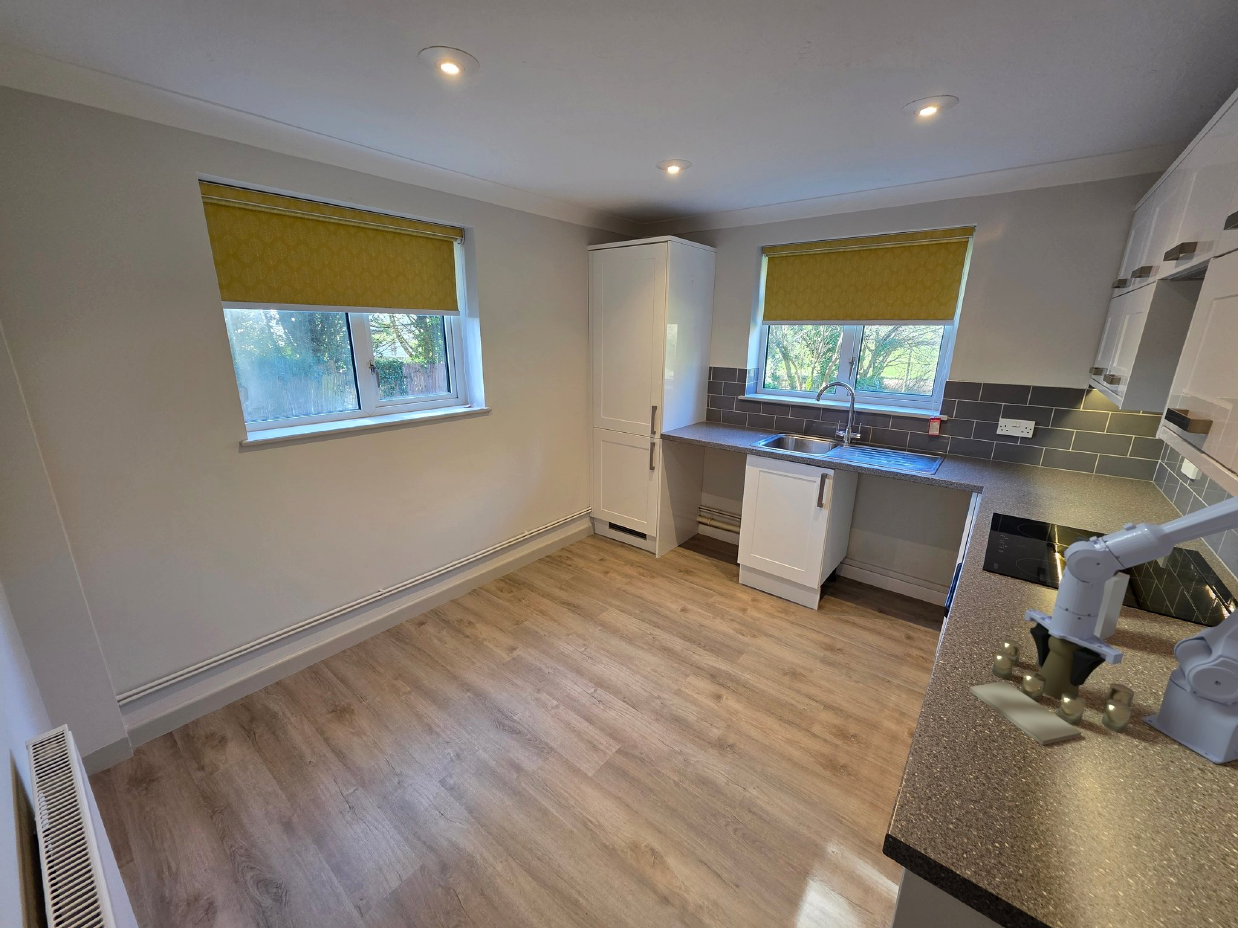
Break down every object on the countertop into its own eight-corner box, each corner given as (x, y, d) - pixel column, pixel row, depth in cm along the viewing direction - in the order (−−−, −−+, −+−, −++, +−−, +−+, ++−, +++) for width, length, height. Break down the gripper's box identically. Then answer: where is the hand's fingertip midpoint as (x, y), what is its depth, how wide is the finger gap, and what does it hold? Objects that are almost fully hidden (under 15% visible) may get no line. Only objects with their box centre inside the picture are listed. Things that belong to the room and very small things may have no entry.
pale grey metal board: (1080, 736, 80) (1081, 732, 80) (1042, 744, 78) (1043, 740, 78) (1003, 684, 92) (1004, 680, 92) (969, 690, 90) (969, 686, 90)
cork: (1086, 704, 87) (1101, 650, 84) (1047, 699, 88) (1061, 645, 86) (1064, 681, 93) (1077, 630, 90) (1027, 677, 94) (1039, 626, 91)
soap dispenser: (1065, 615, 116) (1086, 528, 111) (1113, 635, 108) (1138, 542, 103) (1050, 621, 113) (1070, 533, 108) (1098, 641, 106) (1122, 547, 100)
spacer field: (1155, 725, 82) (1161, 705, 81) (1089, 740, 79) (1095, 719, 78) (1028, 651, 102) (1032, 634, 101) (972, 661, 99) (975, 643, 98)
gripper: (1018, 590, 93) (1004, 653, 96) (1107, 633, 79) (1088, 704, 82) (1047, 587, 94) (1032, 648, 97) (1139, 628, 80) (1119, 698, 83)
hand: (1060, 674), depth 90 cm, fingers closed on cork, 5 cm apart
